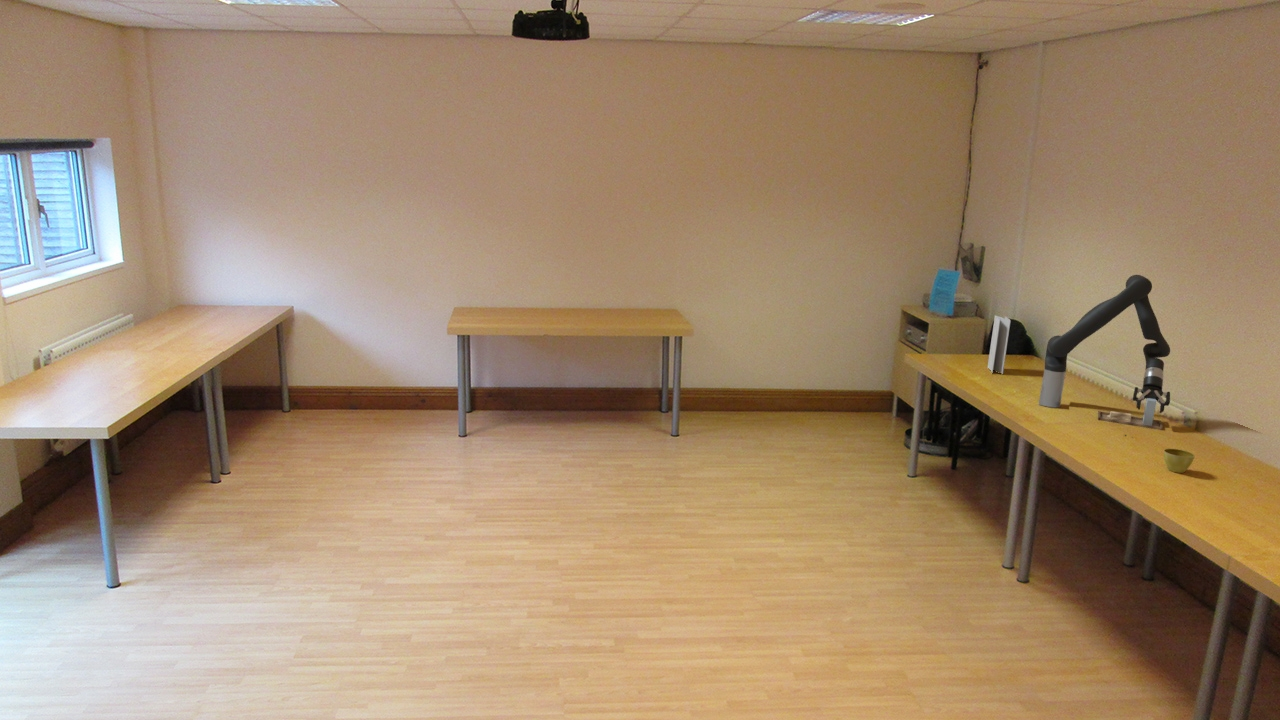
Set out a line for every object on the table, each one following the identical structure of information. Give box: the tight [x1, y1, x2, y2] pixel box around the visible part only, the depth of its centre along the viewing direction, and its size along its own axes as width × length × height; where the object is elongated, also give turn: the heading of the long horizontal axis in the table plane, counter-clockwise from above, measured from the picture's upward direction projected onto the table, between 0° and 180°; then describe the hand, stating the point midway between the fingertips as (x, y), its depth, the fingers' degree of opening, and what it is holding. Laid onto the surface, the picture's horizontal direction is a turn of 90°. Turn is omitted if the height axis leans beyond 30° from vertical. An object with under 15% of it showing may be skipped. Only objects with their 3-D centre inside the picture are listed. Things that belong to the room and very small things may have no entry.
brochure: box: [987, 314, 1011, 375], centre depth 480 cm, size 14×6×30 cm, turn 168°
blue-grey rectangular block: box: [1142, 398, 1157, 426], centre depth 388 cm, size 3×5×11 cm, turn 153°
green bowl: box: [1163, 448, 1196, 474], centre depth 331 cm, size 10×10×7 cm
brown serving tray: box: [1097, 410, 1164, 431], centre depth 391 cm, size 25×13×2 cm, turn 63°
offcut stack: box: [1107, 410, 1132, 422], centre depth 389 cm, size 9×4×4 cm, turn 63°
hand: (1150, 410), depth 386 cm, fingers open, 8 cm apart
